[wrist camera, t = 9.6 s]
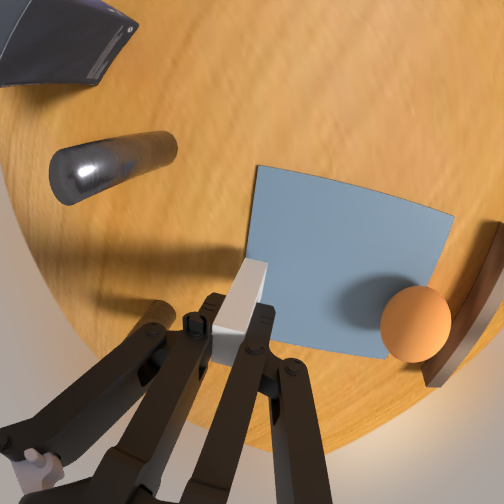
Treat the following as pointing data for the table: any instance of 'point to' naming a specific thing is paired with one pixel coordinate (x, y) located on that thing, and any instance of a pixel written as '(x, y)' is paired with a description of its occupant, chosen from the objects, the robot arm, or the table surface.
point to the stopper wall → (470, 316)
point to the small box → (59, 41)
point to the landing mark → (338, 257)
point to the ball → (415, 324)
